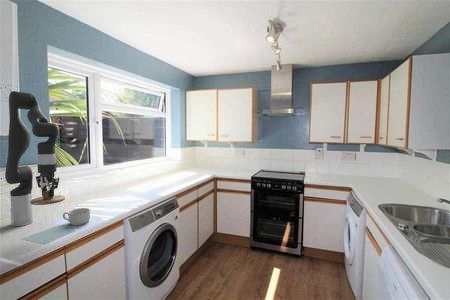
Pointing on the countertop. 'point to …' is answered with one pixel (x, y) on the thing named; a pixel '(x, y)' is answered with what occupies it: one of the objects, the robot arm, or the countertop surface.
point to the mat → (48, 235)
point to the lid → (47, 199)
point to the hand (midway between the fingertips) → (48, 196)
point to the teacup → (78, 216)
